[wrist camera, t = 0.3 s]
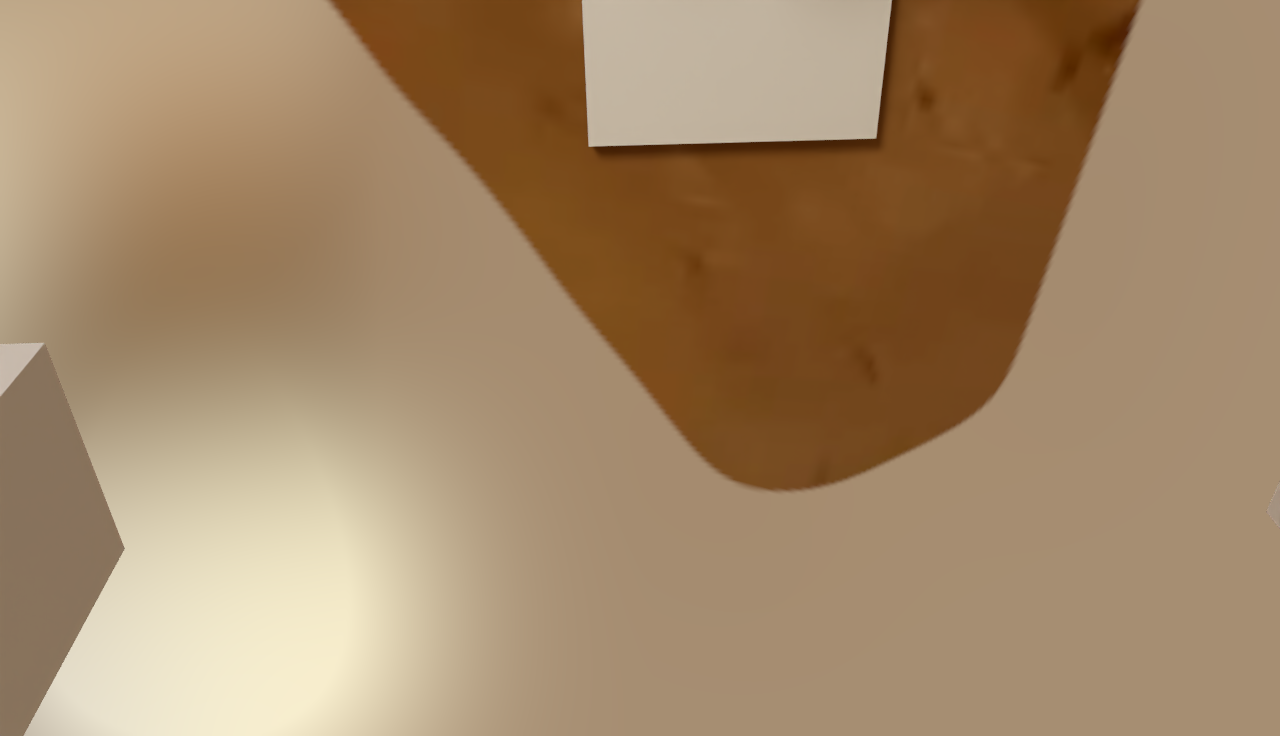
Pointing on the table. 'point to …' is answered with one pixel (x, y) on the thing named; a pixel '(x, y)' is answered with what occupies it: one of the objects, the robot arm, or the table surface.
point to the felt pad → (733, 70)
